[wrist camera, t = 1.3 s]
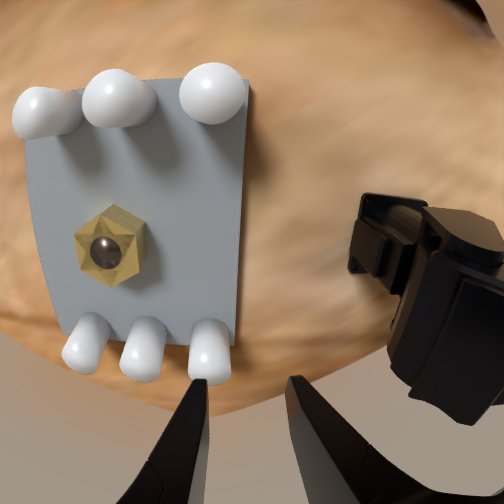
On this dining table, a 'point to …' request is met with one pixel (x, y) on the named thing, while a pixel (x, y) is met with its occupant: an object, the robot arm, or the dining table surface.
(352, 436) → the robot arm
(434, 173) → the dining table surface
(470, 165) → the dining table surface
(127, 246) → the nut
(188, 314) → the board
